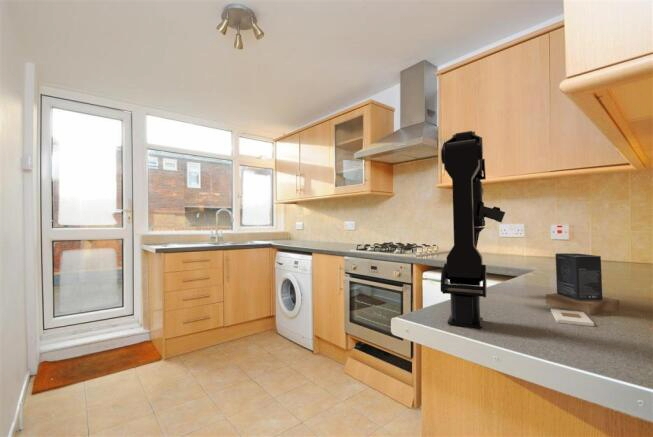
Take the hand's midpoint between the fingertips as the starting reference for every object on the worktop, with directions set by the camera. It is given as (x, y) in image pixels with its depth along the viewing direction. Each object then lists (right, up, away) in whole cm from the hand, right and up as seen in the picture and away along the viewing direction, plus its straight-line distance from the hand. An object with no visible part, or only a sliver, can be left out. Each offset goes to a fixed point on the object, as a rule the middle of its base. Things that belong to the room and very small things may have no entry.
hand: (473, 251), depth 90 cm
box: (+19, -10, -15) cm, 26 cm away
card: (+10, -12, -23) cm, 28 cm away
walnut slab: (+20, -12, -15) cm, 27 cm away
